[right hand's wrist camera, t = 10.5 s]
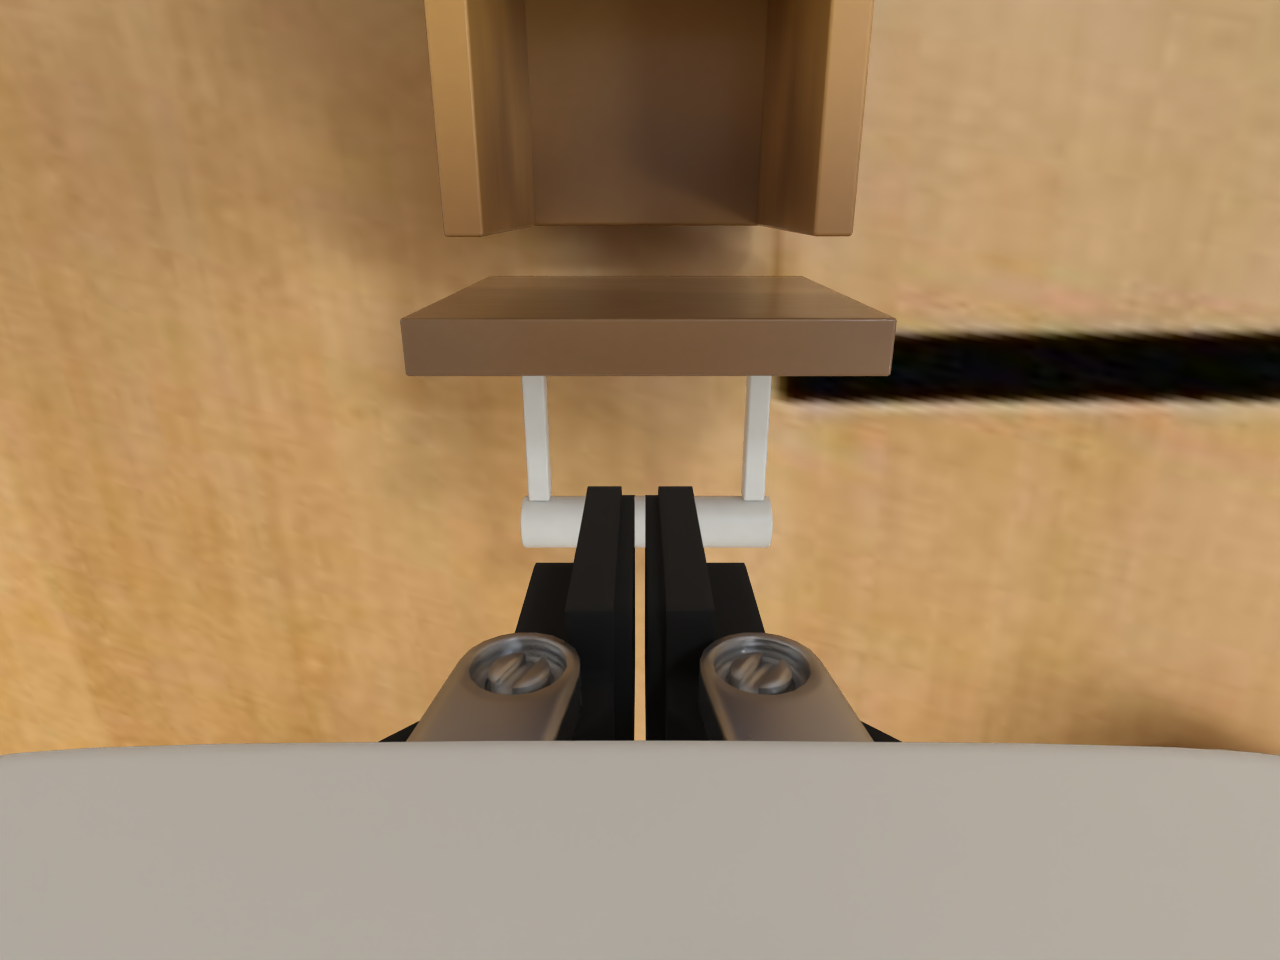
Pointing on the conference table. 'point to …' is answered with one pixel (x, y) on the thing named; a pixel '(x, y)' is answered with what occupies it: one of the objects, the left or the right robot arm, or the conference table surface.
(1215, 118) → the conference table surface
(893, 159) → the conference table surface
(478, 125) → the drawer
